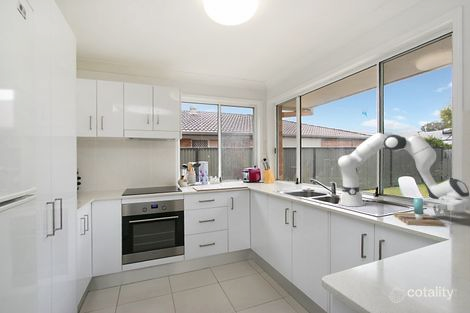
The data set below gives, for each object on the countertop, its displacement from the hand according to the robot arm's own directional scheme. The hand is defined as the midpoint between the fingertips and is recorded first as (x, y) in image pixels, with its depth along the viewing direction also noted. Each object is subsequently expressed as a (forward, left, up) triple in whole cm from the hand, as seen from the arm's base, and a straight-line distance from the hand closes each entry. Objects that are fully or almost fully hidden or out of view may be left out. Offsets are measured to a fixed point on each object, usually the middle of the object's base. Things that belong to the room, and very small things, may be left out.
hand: (426, 204), depth 124 cm
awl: (+2, -5, -9) cm, 11 cm away
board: (-1, -5, -9) cm, 10 cm away
